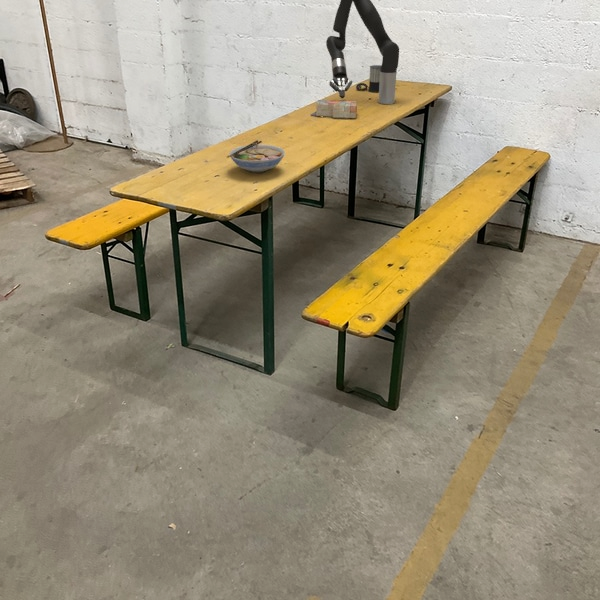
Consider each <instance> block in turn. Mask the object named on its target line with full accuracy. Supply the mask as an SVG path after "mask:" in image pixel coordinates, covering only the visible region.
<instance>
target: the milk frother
mask: <svg viewBox="0 0 600 600" xmlns="http://www.w3.org/2000/svg"><path fill="white" fill-rule="evenodd" d="M381 66H382V64H379V65H378V64H376V65H375V64H374V65H370V66H369V80H368V81H369V83H368V84H369V86H368V85H367V84H366V83H363V82H361V83H358V84H356V86H355V89H356V90H358V91H362V92H363V91H368V92H370V93H374V94H375V93H378V94H379V84H380V67H381ZM362 86H364V88H362Z"/></svg>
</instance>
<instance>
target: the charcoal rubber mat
mask: <svg viewBox="0 0 600 600" xmlns="http://www.w3.org/2000/svg"><path fill="white" fill-rule="evenodd" d="M310 115H311V116H310V117H316V115H317V110H316V111H315V112H313V113H311V114H310ZM326 117H332V118H331V119H334V118H333V116H323V117H322V118H326ZM338 118H341V119H340V120H349V119H348V118H343V117H338Z"/></svg>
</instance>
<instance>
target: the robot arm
mask: <svg viewBox="0 0 600 600" xmlns="http://www.w3.org/2000/svg"><path fill="white" fill-rule="evenodd" d="M353 4H354V7H355V9H356V11H357V13H358V16H359V17H360V19H361V21H362V22H363V25H364V26H365V28H366V29H367V30H368V32H369V34H370V35H371V37H372V38H373V39H374V41H375V44H376V46H377V48H378V50H379V53H380V55H381V56H382V59H381V60H382V62H381V67H380V84H379V92H378V104H381V105H393V104H395V98H396V85H397V70H398V66H399V59H400V47H399V45H398V44H397V43H396V42H394V41H393V40H392V39H391V38H390V37H389V35H388V33H387V31H386V30H385V27H384V23H383V20H382V18H381V15H380V13H379V11H378V9H377V8H376V6H375V5H374V3H373V2H372V0H340V2H339V5H338V8H337V10H336V13H335V18H334V22H333V26H332V30H333V31H334V32H336V33H338V34H339V35H338V36H335V35H330V36H328V37H327V38H326V41H325V44H326V49H327V51H328V54H329V56H330V59H331V70H332V80H331V81H329V84H328V85H329V87H331V89H333V91H335V92H337V93H338V94H339V95H338V96H339V98H340V99H345V96H346V92H347V91H348V90H349V89H350V87H351V86H352V84H353V80H349V78H348V74H347V66H346V62H345V54H344V52H343V51H344V49H345V47H346V44H347V43H346V30H347V25H348V21H349V17H350V14H351V13H350V12H351V9H352V5H353Z"/></svg>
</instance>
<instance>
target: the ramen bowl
mask: <svg viewBox="0 0 600 600" xmlns="http://www.w3.org/2000/svg"><path fill="white" fill-rule="evenodd" d="M262 142H263V141H262V140H259V139H257V140H255V141H253V142H251V143H250V144H248V145H241V146H238V147H235V148H233V149H231V150H230V151H229V155H228V156H226V158H227V159H229V158H231V160H232V161H233V162H234V164H236V166H238V167H239V168H241V169H243V170H246V171H249V172H251V173H257V174H258V173H264V172H266V171H268V170H271V169H273V168H275V167H276V166H277V165H279V164H280V162H281V161H282V159H284V156H285V154H286V152H285V149H283V148H281V147H279V146H276V145H271V144H261V143H262Z"/></svg>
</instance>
